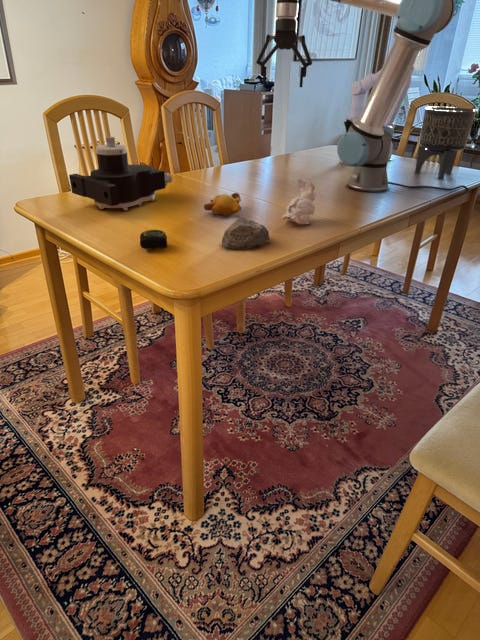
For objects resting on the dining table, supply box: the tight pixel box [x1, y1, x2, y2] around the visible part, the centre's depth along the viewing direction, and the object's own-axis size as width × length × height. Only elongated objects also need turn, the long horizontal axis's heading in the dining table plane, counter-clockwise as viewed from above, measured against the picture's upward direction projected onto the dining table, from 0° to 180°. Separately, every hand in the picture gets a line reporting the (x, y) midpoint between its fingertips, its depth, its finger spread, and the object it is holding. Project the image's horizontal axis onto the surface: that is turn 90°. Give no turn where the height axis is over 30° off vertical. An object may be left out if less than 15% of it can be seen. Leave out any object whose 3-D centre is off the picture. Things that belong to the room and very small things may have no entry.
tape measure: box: [139, 229, 168, 250], centre depth 117 cm, size 7×7×4 cm
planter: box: [414, 106, 477, 180], centre depth 193 cm, size 20×20×26 cm
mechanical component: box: [68, 136, 173, 211], centre depth 148 cm, size 22×21×30 cm
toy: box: [203, 192, 242, 216], centre depth 145 cm, size 11×6×15 cm
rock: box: [221, 216, 270, 250], centre depth 119 cm, size 13×9×6 cm, turn 131°
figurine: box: [281, 177, 316, 225], centre depth 135 cm, size 8×15×13 cm, turn 145°
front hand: (282, 86), depth 169 cm, fingers open, 13 cm apart
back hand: (352, 136), depth 237 cm, fingers open, 7 cm apart
